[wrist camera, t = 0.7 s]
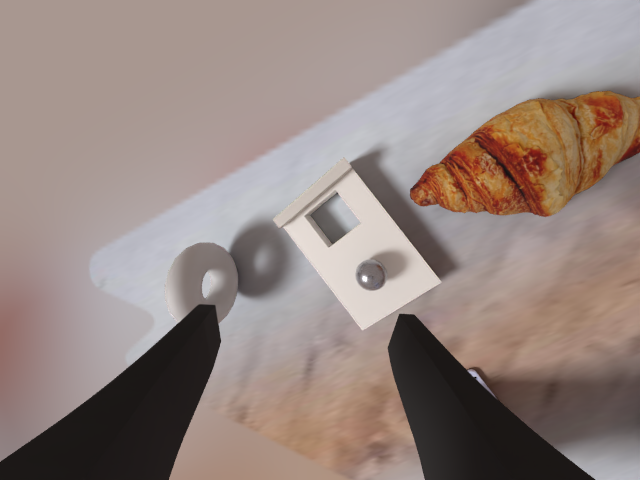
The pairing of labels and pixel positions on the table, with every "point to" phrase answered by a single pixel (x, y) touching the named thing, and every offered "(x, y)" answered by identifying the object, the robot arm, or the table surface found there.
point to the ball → (371, 275)
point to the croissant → (534, 156)
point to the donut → (188, 278)
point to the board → (357, 247)
